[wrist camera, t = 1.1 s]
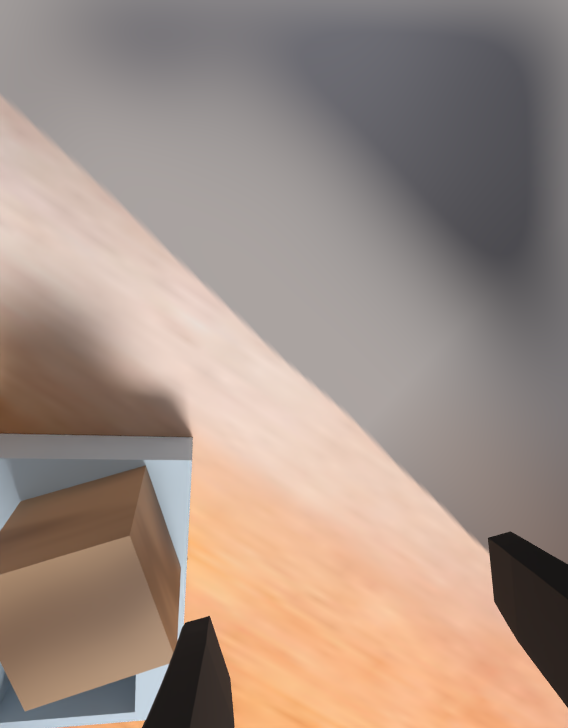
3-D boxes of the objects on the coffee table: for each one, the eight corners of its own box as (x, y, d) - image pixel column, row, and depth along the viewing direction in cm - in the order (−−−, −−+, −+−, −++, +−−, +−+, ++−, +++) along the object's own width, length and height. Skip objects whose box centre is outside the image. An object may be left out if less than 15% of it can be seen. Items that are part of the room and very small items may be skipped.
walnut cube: (180, 567, 21) (176, 661, 16) (64, 603, 21) (24, 711, 16) (145, 465, 20) (129, 535, 15) (20, 501, 19) (-38, 586, 15)
